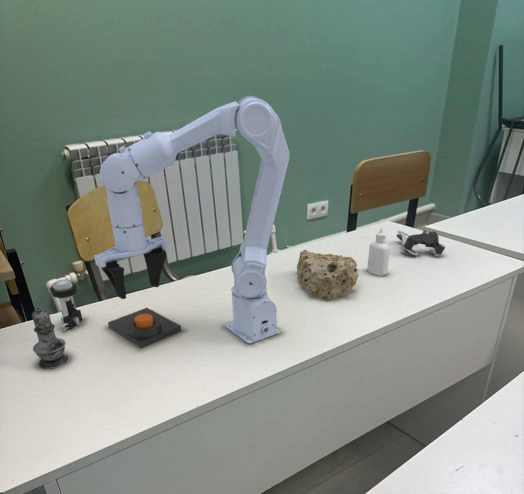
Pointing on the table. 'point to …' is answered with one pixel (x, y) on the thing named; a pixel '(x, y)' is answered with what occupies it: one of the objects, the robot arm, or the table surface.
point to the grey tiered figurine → (48, 341)
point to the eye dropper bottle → (378, 255)
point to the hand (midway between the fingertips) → (138, 291)
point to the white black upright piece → (67, 303)
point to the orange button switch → (144, 335)
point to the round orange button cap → (144, 321)
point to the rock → (326, 274)
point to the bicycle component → (420, 242)
